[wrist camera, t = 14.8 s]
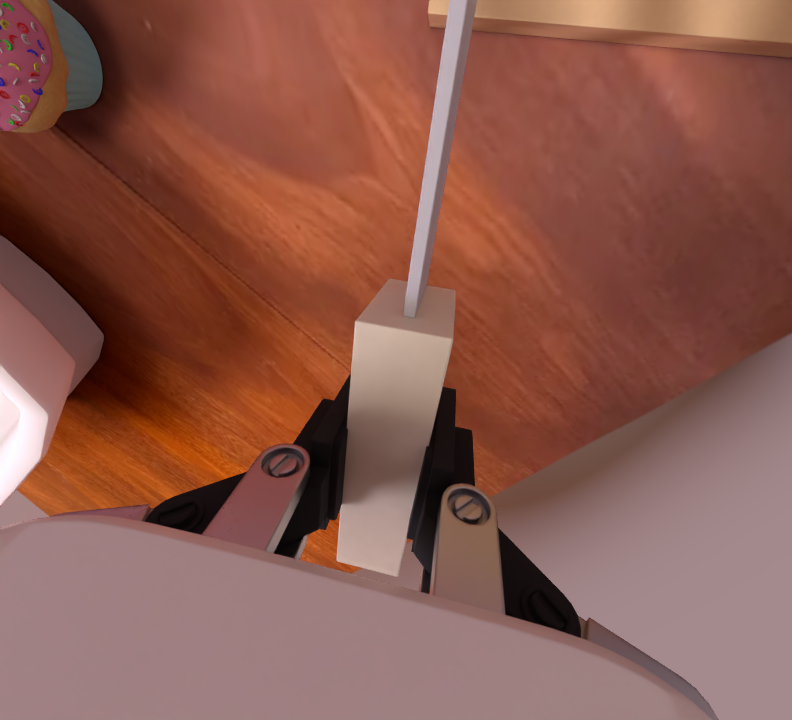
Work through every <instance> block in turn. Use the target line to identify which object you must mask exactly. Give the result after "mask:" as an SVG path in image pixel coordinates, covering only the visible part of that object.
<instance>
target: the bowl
mask: <svg viewBox="0 0 792 720" xmlns="http://www.w3.org/2000/svg"><path fill="white" fill-rule="evenodd" d="M103 341H104V334H103V333H102V332H101V330H100V329H99V328H98V327H97V325H96V324H95V323H94V322H93V321H92V319H91V318H90V317H89V316H88V314H87V313H86V312H85V311H84V310H83V308H82V307H81V306H80V305H79V304H78V303H77V302H76V301H75V300H74V299H73V298H72V297H71V296H70V295H69V294H68V293H67V292H66V291H65V290H64V289H63V288H62V287H61V286H60V285H59V284H58V283H57V282H56V281H55V280H54V279H53V278H52V277H51V276H50V275H49V274H48V273H47V272H46V271H45V270H43V269H42V268H41V267H40V266H39V265H37V264H36V263H35V262H34V261H33V260H31V259H30V258H29V257H28V256H26V255H25V254H24V253H23V252H22V251H20V250H19V249H18V248H17V247H16V246H14V245H13V244H12V243H11V242H10V241H8V240H7V239H6V238H4V237H3V236H1V235H0V506H1V505H2V504H3V503H4V502H5V501H6V500H7V499H8V498H9V497H10V496H11V495H12V494H13V493H14V492H15V491H16V490H17V489H18V488H19V486H20V485H21V484H22V483H23V482H24V480H25V479H26V478H27V477H28V476H29V474H30V473H31V472H32V471H33V470H34V468H35V467H36V466H37V465H38V464H39V462H40V461H41V460H42V459H43V457H44V456H45V455H46V454H47V451H48V448H49V445H50V443H51V440H52V437H53V434H54V432H55V429H56V426H57V423H58V421H59V418H60V415H61V412H62V410H63V407H64V404H65V401H66V399H67V397H68V395H69V394H70V393H71V392H72V391H73V390H74V389H75V387H76V386H77V385H78V384H79V383H80V381H81V380H82V379H83V378H84V377H85V375H86V374H87V373H88V371H89V370H90V369H91V368H92V366H93V365H94V364H95V363H96V361H97V360H98V359H99V356H100V352H101V348H102V345H103Z"/></svg>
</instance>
